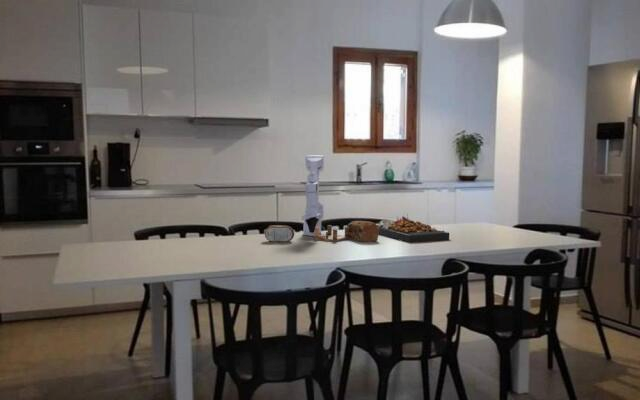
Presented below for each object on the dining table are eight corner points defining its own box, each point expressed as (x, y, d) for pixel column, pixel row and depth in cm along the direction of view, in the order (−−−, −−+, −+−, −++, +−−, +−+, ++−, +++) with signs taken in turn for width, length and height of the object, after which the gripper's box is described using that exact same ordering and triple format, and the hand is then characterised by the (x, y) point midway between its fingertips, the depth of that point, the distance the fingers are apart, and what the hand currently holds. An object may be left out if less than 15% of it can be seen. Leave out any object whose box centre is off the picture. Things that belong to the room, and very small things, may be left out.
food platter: (366, 232, 320) (367, 214, 320) (403, 230, 330) (403, 212, 329) (409, 244, 279) (409, 223, 278) (449, 241, 289) (449, 221, 288)
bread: (379, 241, 283) (379, 222, 282) (360, 242, 280) (360, 223, 279) (363, 236, 301) (363, 218, 300) (345, 237, 297) (345, 219, 296)
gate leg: (326, 237, 287) (326, 227, 287) (323, 237, 285) (324, 228, 285) (316, 236, 290) (316, 226, 290) (314, 236, 288) (314, 227, 288)
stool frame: (313, 239, 289) (313, 227, 288) (328, 236, 300) (328, 225, 300) (335, 242, 281) (335, 230, 280) (350, 238, 292) (350, 227, 292)
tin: (294, 241, 283) (294, 225, 282) (293, 242, 279) (293, 226, 279) (265, 241, 284) (265, 224, 283) (264, 242, 281) (264, 225, 280)
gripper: (309, 207, 275) (309, 234, 276) (326, 205, 286) (326, 231, 288) (298, 206, 279) (298, 233, 280) (315, 204, 291) (315, 230, 292)
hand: (311, 232), depth 284 cm, fingers closed
